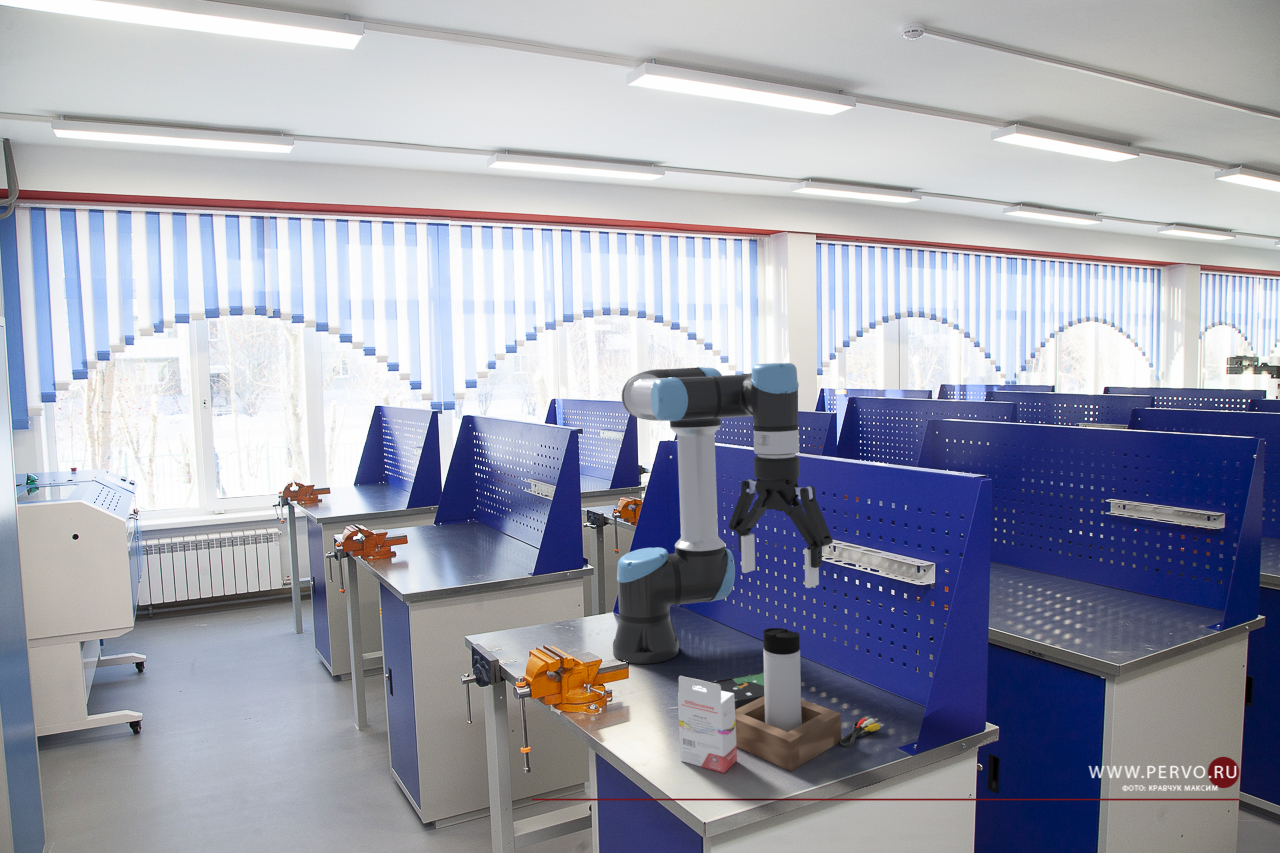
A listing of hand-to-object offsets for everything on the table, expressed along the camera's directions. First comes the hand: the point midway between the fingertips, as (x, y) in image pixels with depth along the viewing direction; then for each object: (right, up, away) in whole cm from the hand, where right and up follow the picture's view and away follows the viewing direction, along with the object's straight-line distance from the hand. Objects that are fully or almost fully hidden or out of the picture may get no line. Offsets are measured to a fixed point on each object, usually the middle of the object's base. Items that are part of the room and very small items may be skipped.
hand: (779, 578), depth 135 cm
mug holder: (+1, -29, +2) cm, 29 cm away
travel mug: (+1, -29, +2) cm, 29 cm away
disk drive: (-3, -28, +21) cm, 35 cm away
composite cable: (+14, -29, +4) cm, 32 cm away
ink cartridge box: (-12, -30, -3) cm, 33 cm away
